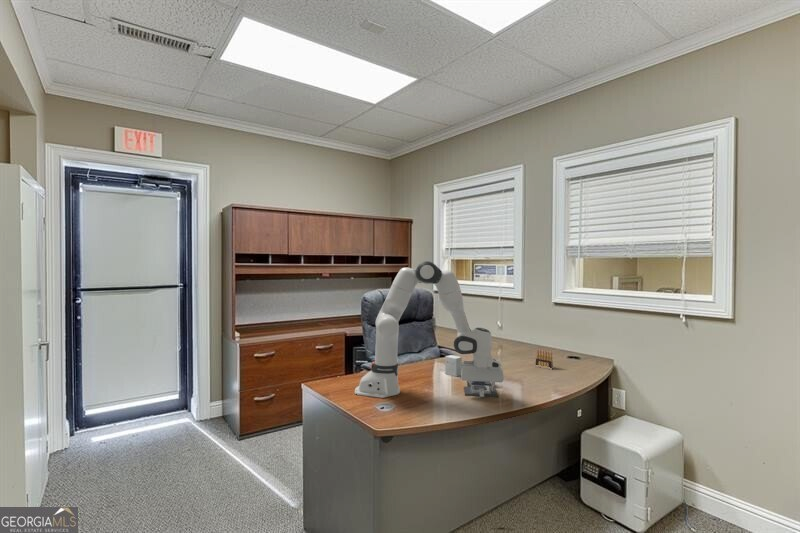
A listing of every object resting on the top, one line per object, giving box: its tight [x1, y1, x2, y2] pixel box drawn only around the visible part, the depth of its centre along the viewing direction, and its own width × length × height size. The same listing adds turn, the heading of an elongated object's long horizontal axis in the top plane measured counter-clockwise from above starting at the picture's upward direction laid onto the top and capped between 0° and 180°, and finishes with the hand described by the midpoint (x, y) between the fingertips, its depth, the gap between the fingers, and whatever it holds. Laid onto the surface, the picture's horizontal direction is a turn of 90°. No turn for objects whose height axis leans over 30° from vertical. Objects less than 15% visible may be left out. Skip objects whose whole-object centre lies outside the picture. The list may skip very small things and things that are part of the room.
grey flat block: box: [471, 385, 491, 398], centre depth 200 cm, size 9×14×3 cm, turn 173°
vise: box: [466, 381, 492, 387], centre depth 216 cm, size 12×10×21 cm
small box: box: [444, 354, 463, 378], centre depth 234 cm, size 8×6×10 cm
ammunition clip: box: [535, 347, 554, 368], centre depth 254 cm, size 11×2×12 cm, turn 44°
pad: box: [463, 386, 499, 398], centre depth 202 cm, size 16×12×1 cm
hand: (481, 390), depth 195 cm, fingers open, 7 cm apart
